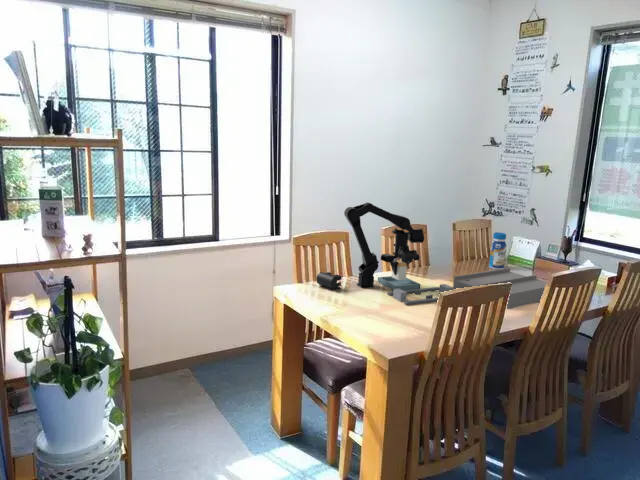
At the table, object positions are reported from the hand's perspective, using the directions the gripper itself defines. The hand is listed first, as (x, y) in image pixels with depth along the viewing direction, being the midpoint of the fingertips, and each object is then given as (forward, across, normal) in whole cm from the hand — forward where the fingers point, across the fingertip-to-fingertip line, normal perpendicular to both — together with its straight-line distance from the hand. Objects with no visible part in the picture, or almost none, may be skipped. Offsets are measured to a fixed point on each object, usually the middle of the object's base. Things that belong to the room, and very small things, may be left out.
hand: (399, 274), depth 241 cm
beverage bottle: (+6, +75, +15) cm, 77 cm away
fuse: (+2, 0, 0) cm, 2 cm away
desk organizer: (+6, +44, -26) cm, 52 cm away
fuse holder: (+6, +1, -19) cm, 20 cm away
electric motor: (+6, -34, +7) cm, 35 cm away
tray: (+6, 0, 0) cm, 6 cm away
